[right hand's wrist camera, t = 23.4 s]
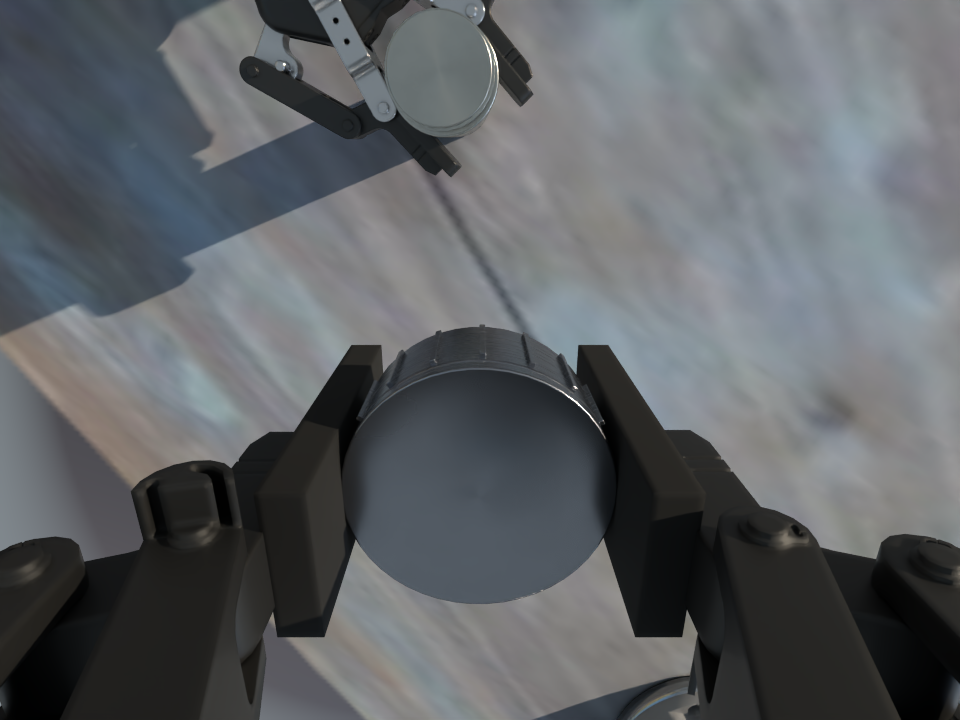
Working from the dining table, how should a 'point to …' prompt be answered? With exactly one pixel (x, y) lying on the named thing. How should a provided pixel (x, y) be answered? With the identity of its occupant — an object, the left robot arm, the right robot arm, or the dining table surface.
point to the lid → (479, 468)
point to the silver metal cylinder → (441, 73)
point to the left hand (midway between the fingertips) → (490, 135)
